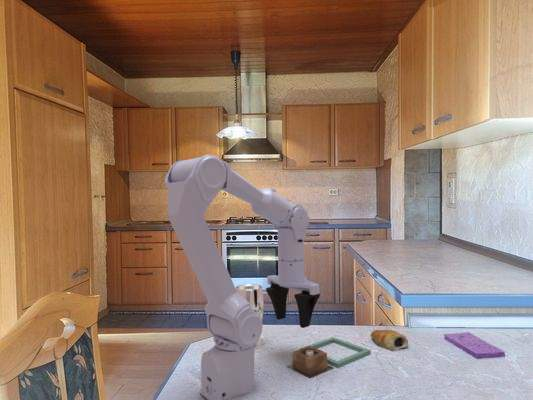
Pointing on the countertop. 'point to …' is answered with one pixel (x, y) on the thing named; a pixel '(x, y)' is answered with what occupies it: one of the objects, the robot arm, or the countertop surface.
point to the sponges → (474, 345)
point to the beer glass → (253, 300)
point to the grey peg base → (309, 353)
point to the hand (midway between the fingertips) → (292, 322)
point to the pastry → (389, 339)
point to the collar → (309, 360)
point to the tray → (361, 351)
